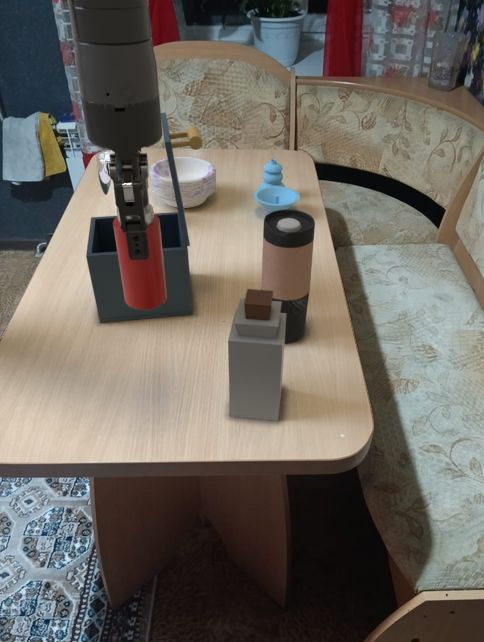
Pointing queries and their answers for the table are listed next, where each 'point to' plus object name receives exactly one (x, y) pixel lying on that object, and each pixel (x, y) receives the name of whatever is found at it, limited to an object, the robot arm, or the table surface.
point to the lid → (195, 144)
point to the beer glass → (106, 180)
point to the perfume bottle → (256, 357)
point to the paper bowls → (184, 180)
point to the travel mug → (288, 265)
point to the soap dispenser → (275, 189)
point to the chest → (109, 276)
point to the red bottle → (142, 266)
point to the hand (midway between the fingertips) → (139, 245)
